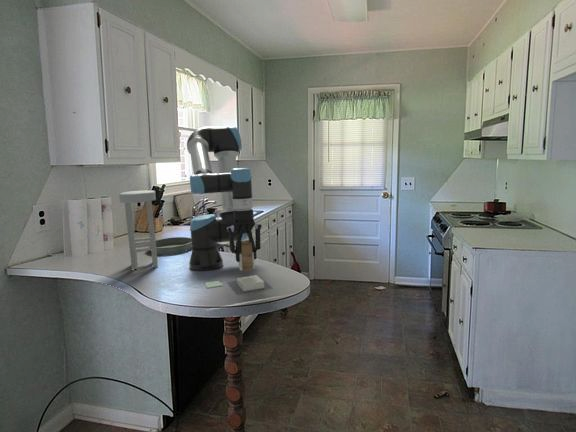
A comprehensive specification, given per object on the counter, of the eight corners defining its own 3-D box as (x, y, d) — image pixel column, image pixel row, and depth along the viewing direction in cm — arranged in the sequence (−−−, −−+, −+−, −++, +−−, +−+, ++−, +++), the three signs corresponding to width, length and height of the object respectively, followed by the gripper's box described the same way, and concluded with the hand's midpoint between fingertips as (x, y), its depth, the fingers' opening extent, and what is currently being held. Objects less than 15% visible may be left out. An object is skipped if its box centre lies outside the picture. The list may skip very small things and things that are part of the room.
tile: (236, 278, 160) (243, 284, 152) (256, 275, 163) (263, 281, 155) (237, 284, 161) (243, 291, 153) (256, 281, 164) (264, 288, 155)
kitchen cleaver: (244, 244, 228) (229, 247, 221) (244, 246, 228) (229, 249, 221) (220, 239, 246) (205, 241, 239) (220, 240, 246) (205, 243, 239)
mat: (227, 284, 164) (227, 282, 164) (260, 278, 169) (260, 277, 169) (236, 296, 150) (236, 294, 150) (273, 289, 155) (273, 288, 155)
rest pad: (204, 285, 163) (204, 282, 163) (219, 282, 166) (219, 280, 165) (207, 290, 158) (207, 287, 158) (222, 287, 160) (222, 284, 160)
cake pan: (157, 245, 239) (156, 237, 238) (199, 243, 238) (198, 236, 237) (140, 256, 214) (139, 248, 214) (187, 255, 213) (186, 246, 213)
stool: (128, 263, 201) (120, 191, 195) (161, 259, 205) (154, 189, 200) (126, 272, 186) (118, 195, 180) (162, 267, 191) (155, 192, 185)
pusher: (240, 268, 162) (238, 241, 160) (250, 267, 163) (248, 240, 161) (243, 271, 158) (241, 243, 156) (253, 269, 160) (251, 242, 158)
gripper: (223, 212, 150) (227, 274, 154) (267, 208, 156) (270, 267, 160) (218, 210, 157) (222, 269, 161) (261, 205, 163) (264, 263, 167)
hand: (246, 268), depth 161 cm, fingers closed on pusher, 4 cm apart
